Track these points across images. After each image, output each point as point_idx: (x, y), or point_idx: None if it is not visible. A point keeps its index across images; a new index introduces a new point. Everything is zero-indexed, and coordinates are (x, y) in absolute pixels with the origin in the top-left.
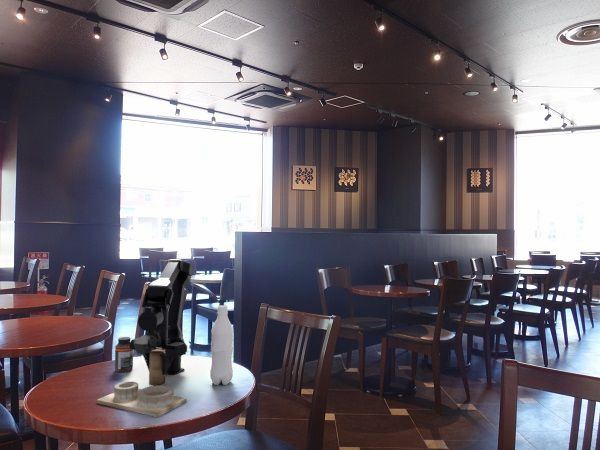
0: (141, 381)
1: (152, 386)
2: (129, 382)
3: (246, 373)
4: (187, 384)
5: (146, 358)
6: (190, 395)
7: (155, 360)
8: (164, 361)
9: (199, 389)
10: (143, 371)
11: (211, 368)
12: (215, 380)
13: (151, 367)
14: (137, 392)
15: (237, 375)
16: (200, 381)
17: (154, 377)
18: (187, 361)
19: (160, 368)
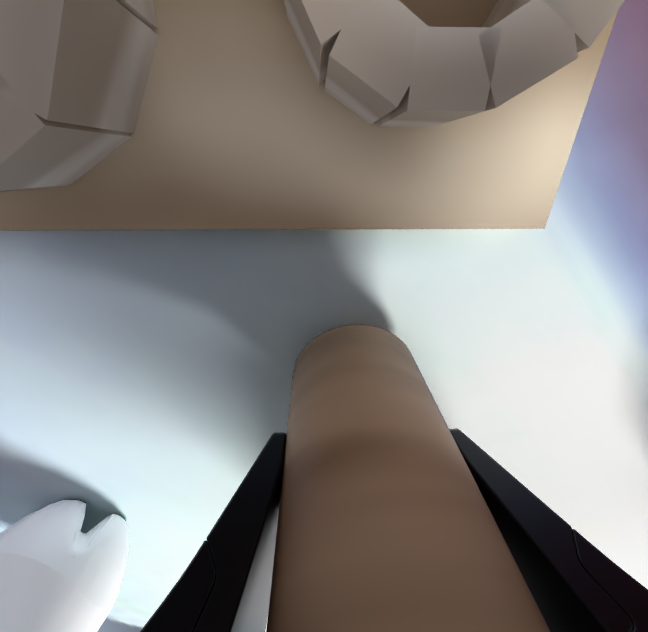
0: (516, 388)
1: (31, 63)
2: (512, 44)
3: (112, 609)
4: (214, 455)
5: (615, 612)
6: (18, 339)
7: (352, 612)
8: (173, 628)
9: (82, 431)
10: (585, 490)
11: (40, 616)
12: (34, 524)
13: (404, 457)
14: (300, 35)
15: (120, 590)
16: (193, 503)
17: (338, 372)
18: None
19: (290, 484)
